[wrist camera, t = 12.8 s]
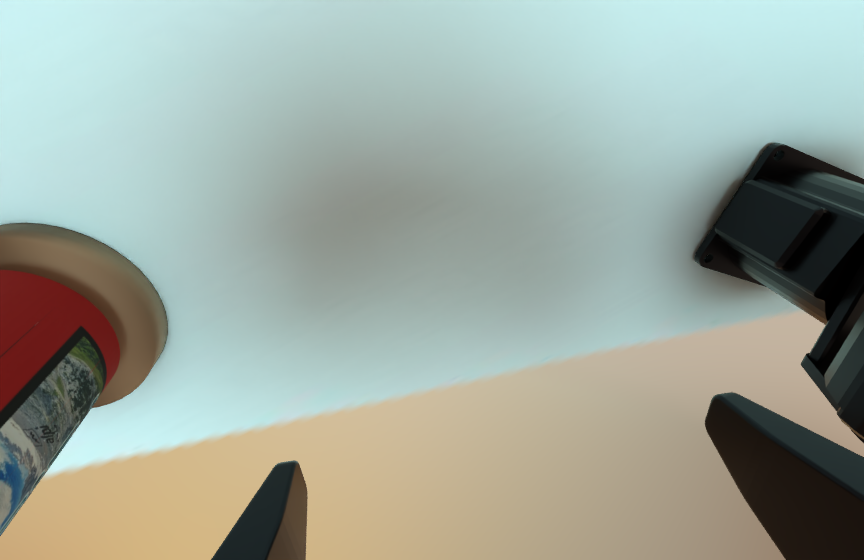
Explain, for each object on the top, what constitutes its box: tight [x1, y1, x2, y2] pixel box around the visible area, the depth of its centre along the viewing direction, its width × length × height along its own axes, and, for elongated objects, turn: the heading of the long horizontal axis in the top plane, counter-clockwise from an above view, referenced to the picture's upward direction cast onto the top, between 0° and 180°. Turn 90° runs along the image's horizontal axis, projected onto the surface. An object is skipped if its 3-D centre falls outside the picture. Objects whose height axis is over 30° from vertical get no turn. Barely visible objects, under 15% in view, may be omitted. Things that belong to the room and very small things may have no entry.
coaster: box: [0, 223, 167, 408], centre depth 20 cm, size 9×9×2 cm
